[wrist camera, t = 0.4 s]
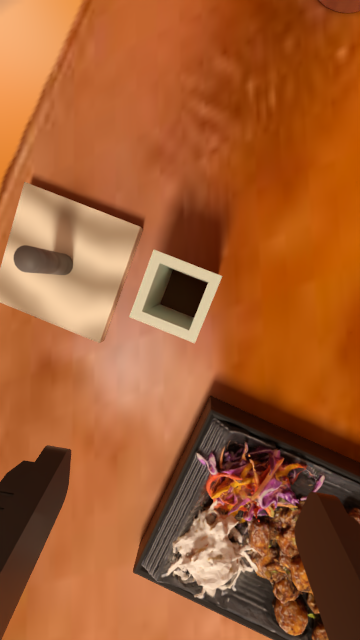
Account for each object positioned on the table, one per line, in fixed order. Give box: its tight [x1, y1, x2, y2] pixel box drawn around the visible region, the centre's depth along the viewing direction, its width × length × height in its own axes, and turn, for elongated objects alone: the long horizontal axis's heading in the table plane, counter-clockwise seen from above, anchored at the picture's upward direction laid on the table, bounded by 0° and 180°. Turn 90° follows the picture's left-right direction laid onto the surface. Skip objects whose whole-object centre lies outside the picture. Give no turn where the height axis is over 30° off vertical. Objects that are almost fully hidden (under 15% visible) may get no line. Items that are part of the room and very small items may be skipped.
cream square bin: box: [129, 250, 222, 343], centre depth 30 cm, size 6×6×10 cm
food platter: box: [133, 396, 360, 640], centre depth 32 cm, size 45×25×10 cm, turn 67°
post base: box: [0, 182, 143, 343], centre depth 31 cm, size 15×15×8 cm
